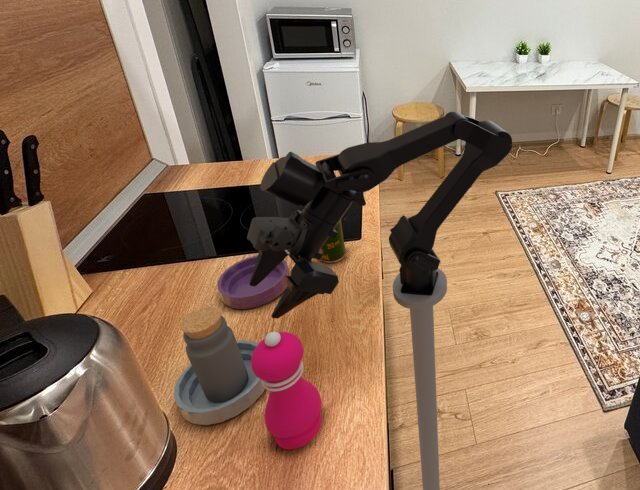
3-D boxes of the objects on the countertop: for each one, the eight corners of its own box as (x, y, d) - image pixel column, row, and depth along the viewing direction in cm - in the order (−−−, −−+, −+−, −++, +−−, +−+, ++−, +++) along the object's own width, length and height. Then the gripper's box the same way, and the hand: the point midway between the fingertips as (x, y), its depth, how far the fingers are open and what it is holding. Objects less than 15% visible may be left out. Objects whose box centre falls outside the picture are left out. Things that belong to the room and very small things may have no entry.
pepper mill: (266, 422, 62) (232, 329, 53) (316, 394, 66) (293, 303, 57) (278, 465, 57) (244, 370, 48) (332, 432, 61) (310, 339, 52)
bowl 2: (286, 357, 72) (282, 343, 70) (242, 430, 61) (236, 416, 59) (216, 351, 72) (211, 337, 70) (160, 423, 61) (152, 408, 59)
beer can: (336, 245, 98) (329, 202, 93) (351, 255, 95) (344, 211, 90) (315, 257, 94) (307, 213, 89) (330, 267, 91) (322, 223, 86)
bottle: (256, 371, 69) (234, 305, 62) (232, 406, 63) (204, 338, 57) (223, 366, 69) (197, 300, 62) (196, 400, 64) (164, 332, 57)
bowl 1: (301, 269, 91) (298, 256, 89) (269, 313, 80) (265, 299, 78) (246, 264, 91) (242, 252, 89) (207, 308, 80) (202, 294, 78)
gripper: (254, 175, 67) (192, 260, 65) (305, 227, 56) (232, 332, 54) (311, 199, 76) (258, 274, 73) (364, 247, 65) (304, 338, 62)
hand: (262, 301), depth 65 cm, fingers open, 9 cm apart
